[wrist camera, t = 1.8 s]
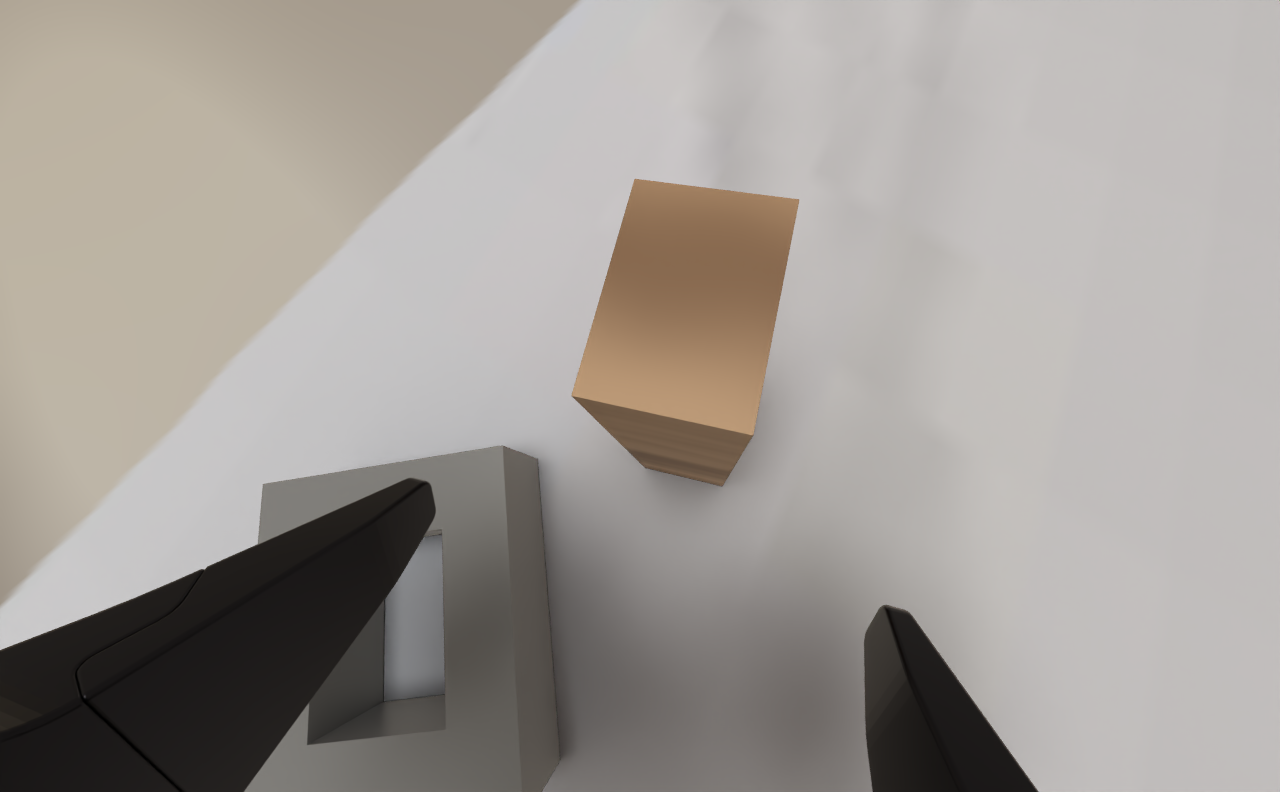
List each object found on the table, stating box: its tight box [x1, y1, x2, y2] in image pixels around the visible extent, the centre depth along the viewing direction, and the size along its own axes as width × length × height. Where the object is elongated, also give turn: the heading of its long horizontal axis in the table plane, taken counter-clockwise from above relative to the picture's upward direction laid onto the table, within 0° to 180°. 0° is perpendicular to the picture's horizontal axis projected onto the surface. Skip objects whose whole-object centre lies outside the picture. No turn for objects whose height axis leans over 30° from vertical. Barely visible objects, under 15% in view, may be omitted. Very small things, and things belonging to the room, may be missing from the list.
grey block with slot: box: [244, 446, 560, 792], centre depth 19 cm, size 12×10×4 cm
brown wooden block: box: [572, 179, 799, 486], centre depth 15 cm, size 5×4×12 cm
